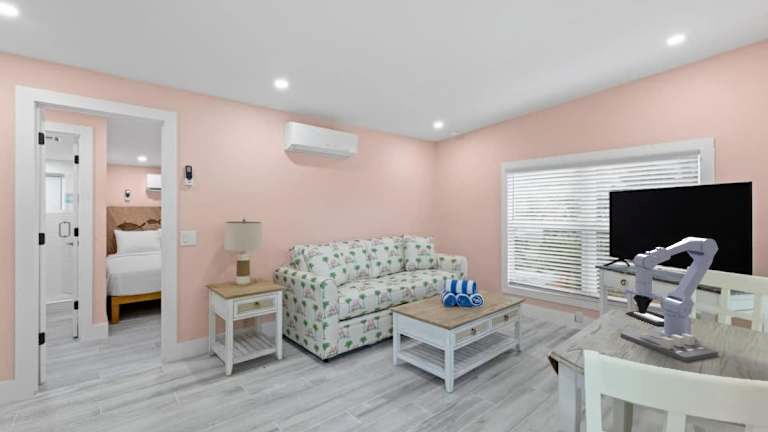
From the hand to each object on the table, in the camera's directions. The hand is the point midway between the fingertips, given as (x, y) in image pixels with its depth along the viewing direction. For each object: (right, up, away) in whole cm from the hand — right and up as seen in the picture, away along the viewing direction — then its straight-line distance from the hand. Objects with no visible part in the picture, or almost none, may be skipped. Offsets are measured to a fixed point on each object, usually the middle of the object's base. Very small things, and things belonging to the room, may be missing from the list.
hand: (642, 313), depth 147 cm
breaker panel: (+1, -10, -11) cm, 15 cm away
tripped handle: (+2, -8, -15) cm, 17 cm away
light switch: (+20, -10, +21) cm, 30 cm away
